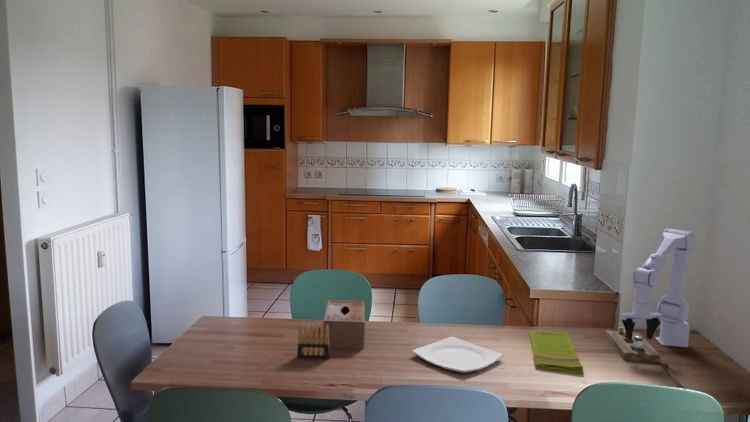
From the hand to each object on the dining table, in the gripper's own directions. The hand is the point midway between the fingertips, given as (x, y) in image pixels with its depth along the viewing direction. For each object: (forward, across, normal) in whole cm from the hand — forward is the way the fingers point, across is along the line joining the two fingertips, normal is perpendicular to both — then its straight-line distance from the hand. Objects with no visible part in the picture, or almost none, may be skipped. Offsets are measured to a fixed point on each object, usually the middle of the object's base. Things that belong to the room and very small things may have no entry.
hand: (639, 338), depth 204 cm
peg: (+6, 0, 0) cm, 6 cm away
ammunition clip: (+6, +115, -3) cm, 115 cm away
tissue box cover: (+6, +103, -24) cm, 106 cm away
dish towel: (+7, +29, -4) cm, 31 cm away
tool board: (+6, -2, -7) cm, 9 cm away
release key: (+4, -4, -14) cm, 15 cm away
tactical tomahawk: (+7, -2, +19) cm, 20 cm away
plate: (+7, +66, 0) cm, 67 cm away
